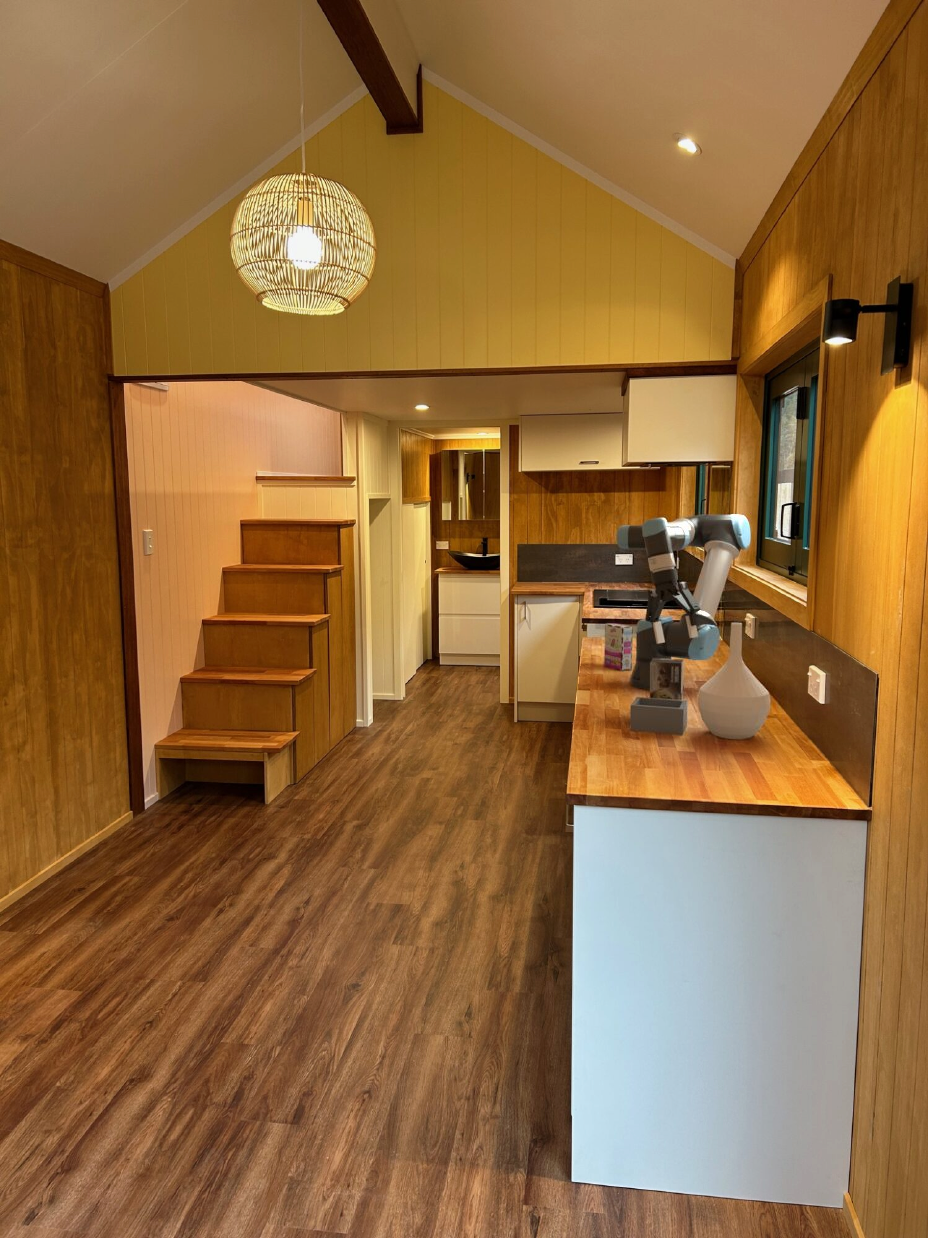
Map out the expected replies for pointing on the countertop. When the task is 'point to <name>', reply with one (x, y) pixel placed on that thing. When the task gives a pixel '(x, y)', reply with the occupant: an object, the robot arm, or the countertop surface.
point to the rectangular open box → (658, 715)
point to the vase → (734, 696)
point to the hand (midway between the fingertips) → (677, 640)
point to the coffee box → (666, 678)
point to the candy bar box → (618, 646)
